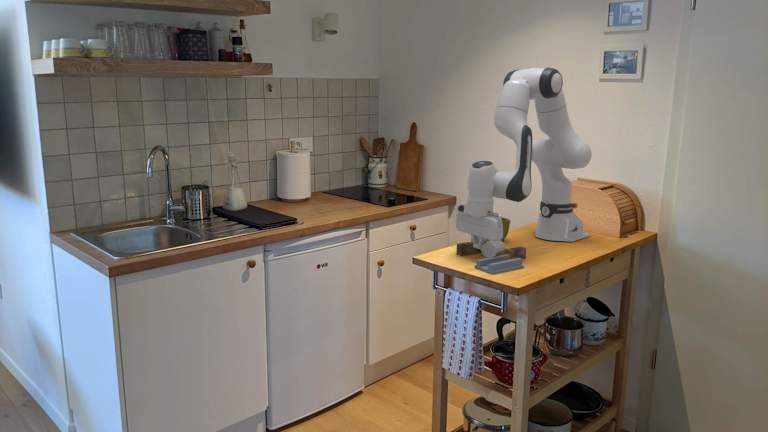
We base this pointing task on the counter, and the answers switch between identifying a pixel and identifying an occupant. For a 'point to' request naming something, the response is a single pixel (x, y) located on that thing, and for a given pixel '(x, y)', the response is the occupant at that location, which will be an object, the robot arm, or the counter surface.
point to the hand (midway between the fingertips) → (477, 248)
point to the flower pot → (505, 227)
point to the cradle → (499, 264)
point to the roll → (492, 248)
